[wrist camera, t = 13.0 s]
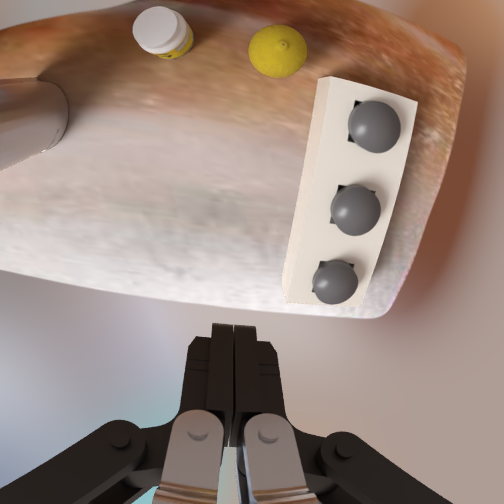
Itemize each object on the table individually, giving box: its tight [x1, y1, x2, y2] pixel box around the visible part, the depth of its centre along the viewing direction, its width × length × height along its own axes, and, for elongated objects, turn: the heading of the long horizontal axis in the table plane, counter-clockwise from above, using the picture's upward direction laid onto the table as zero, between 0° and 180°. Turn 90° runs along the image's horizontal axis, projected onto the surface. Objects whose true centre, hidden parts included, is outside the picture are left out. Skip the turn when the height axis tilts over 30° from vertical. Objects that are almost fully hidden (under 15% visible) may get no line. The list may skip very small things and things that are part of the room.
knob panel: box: [281, 76, 418, 307], centre depth 34 cm, size 26×10×5 cm, turn 173°
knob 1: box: [312, 260, 358, 305], centre depth 37 cm, size 5×5×6 cm
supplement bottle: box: [133, 6, 194, 60], centre depth 24 cm, size 5×5×8 cm
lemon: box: [248, 25, 307, 78], centre depth 25 cm, size 6×6×8 cm
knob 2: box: [348, 101, 401, 153], centre depth 29 cm, size 5×5×6 cm
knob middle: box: [330, 184, 381, 236], centre depth 33 cm, size 5×5×6 cm
